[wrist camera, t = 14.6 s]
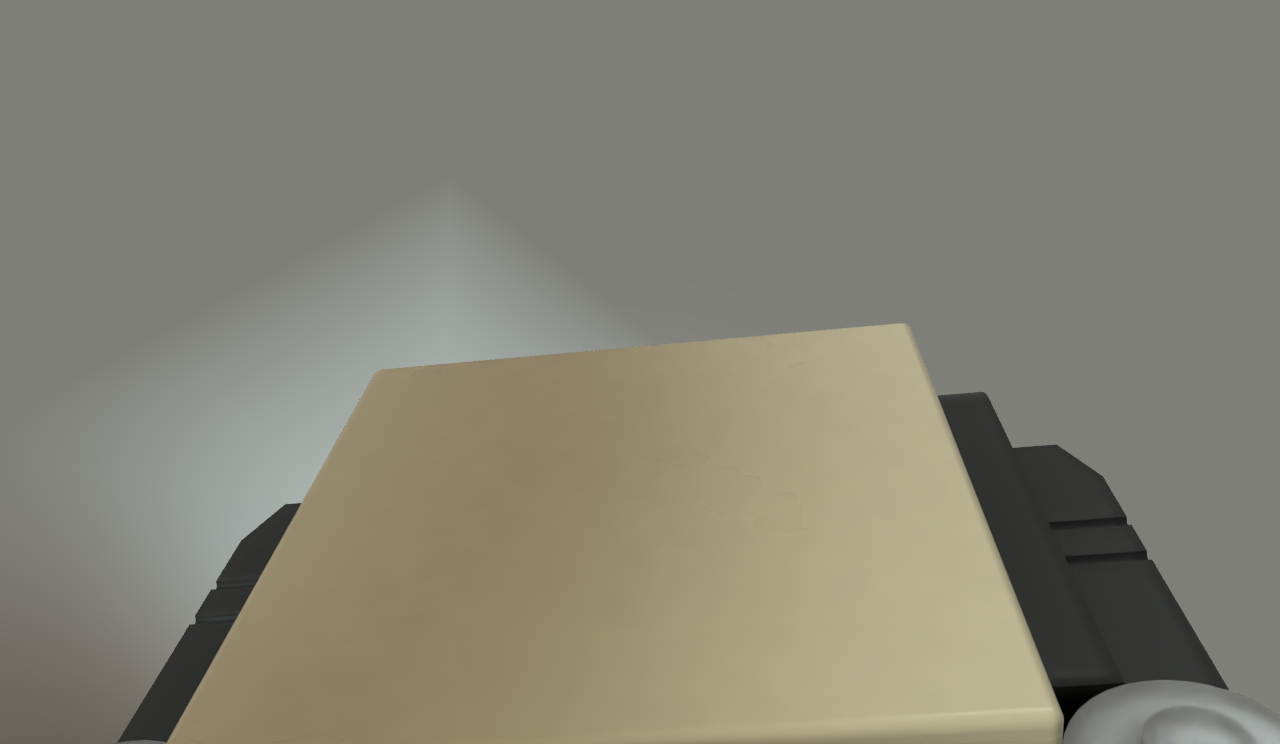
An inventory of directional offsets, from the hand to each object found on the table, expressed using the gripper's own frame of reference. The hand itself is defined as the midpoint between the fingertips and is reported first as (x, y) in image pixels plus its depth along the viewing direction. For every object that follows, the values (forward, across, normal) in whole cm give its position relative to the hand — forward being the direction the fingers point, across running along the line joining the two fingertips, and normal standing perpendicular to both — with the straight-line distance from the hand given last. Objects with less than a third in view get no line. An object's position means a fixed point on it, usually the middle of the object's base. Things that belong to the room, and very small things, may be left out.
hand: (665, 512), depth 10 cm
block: (-3, 0, +8) cm, 8 cm away
